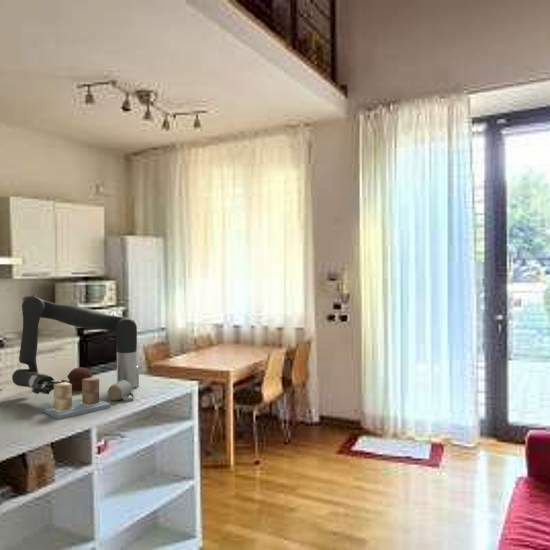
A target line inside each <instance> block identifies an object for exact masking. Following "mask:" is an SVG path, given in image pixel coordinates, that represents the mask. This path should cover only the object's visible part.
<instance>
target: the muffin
mask: <svg viewBox="0 0 550 550" xmlns="http://www.w3.org/2000/svg"><path fill="white" fill-rule="evenodd" d="M93 375H94V374H93V373H92V372H91V370H89V369H88V368H87V367H84V366H83V367H81V366H80V367H75V368H73V369H72V370H70V372H69V373H68V375H67V377H66V378H67V379H68V381H69V382H70V384H72V392H75V391H77V392H82V379H86V378H91V377H94V376H93Z"/></svg>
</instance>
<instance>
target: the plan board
mask: <svg viewBox="0 0 550 550" xmlns="http://www.w3.org/2000/svg"><path fill="white" fill-rule="evenodd" d="M99 402H100V403H96V404H91V405H86V404H84V403H82V399H80V400H75V401H72V409H68V410H64V411H58V410H56V409H54V405H52V406H51V405H50V406H47V407H43V408H42V413H44V412H45V414H46V413H47V415H49V416H51V417H53V418H55V419H57V420H61V419H66V418H70V417H74V416H79V415H84V414H87V413H91V412H95V411H96V412H97V411H100V410H106V409H109V408H111V407H112V405H111V403H110V402H108V401H107V402H106V401H104V400H101V399H99Z"/></svg>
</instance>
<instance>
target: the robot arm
mask: <svg viewBox="0 0 550 550" xmlns="http://www.w3.org/2000/svg"><path fill="white" fill-rule="evenodd" d="M21 310H22V334H21V340H20V348H19V356H18V361H19V363H20V364H22V365H27V366H28V368H21V369H20V368H19V369H17V370H15V371H14V372H13V373H12V375H11V379H12V383H13V384H14V385H16V386H19V387H25V388H28V389H29V388H30V389H31V392H32V393H34V394H36V395H38V394H42V395H43V394H44V395H50V393H51V392H52V391H54V384H57V383H63V382H67V383H70V382H69V380H65V379H61V380H58V381H57V380H55V379H54V378H53V377H52V376H51V375H49V374H48V375H47V374H44V373H40V372H39V370H38V365H37V364H38V363H37V355H38V342H39V341H38V340H39V339H38V337H39V336H38V333H39V332H38V331H39V322H40V319H41V318H43V319H48V320H54V321H57V322H59V323H63V324H66V325H69V326H73V327H77V328H80V329H89V330H104V331H108V332H112V333H115V334H116V383H117V382H119V381H121V380H126V381H128V382H129V383H130V385H131V387H132V389H135V387H136V388H137V386H138V387H139V386H140V384H139V383H140V380H139V379H140V377H139V376H140V374H139V373H140V369H139V366H138V365H137V364H138V362H137V361H138V357H137V356H138V352H137V349H138V348H137V347H138V341H137V340H138V330H137V329H138V328H137V324H136V322H135V321H134V319H132V318H131V317H128V316H127V317H126V316H117V315H110V314H107V313H104V312H100V311H98V310H95V309H91V308H87V307H82V306H78V305H77V306H76V305H69V304H66V305H65V304H57V303H55V302H51V301H48V300H45V299H42V298H41V297H40V298H39V297H37V296H32V295H31V296H29V297H26V298H25V299H24V300H23V302H22V304H21Z"/></svg>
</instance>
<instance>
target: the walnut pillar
mask: <svg viewBox="0 0 550 550" xmlns="http://www.w3.org/2000/svg"><path fill="white" fill-rule="evenodd" d="M81 392H82V393H81V394H82V398H81V400H82V403H84V404H86V405H91V404H96V403H100V402H99V400H100V379H99V378H97V377H94V376H92V377H91V378H86V379H82V391H81Z"/></svg>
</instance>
